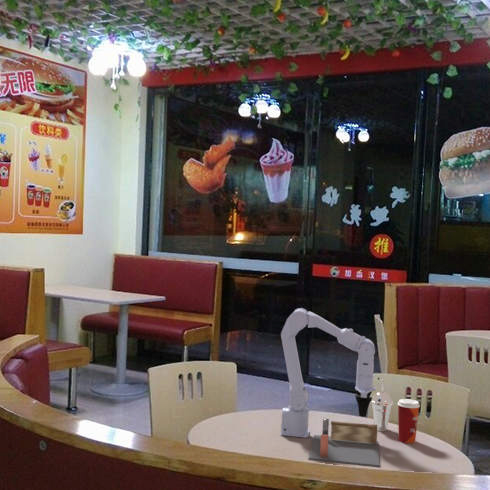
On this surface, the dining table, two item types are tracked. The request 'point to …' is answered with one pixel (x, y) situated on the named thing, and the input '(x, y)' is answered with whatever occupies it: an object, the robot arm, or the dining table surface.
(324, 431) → the hinge post
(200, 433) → the dining table surface
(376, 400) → the cup with straw
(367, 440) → the gate
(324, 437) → the post
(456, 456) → the dining table surface
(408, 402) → the paper cup
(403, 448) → the dining table surface
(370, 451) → the mat
